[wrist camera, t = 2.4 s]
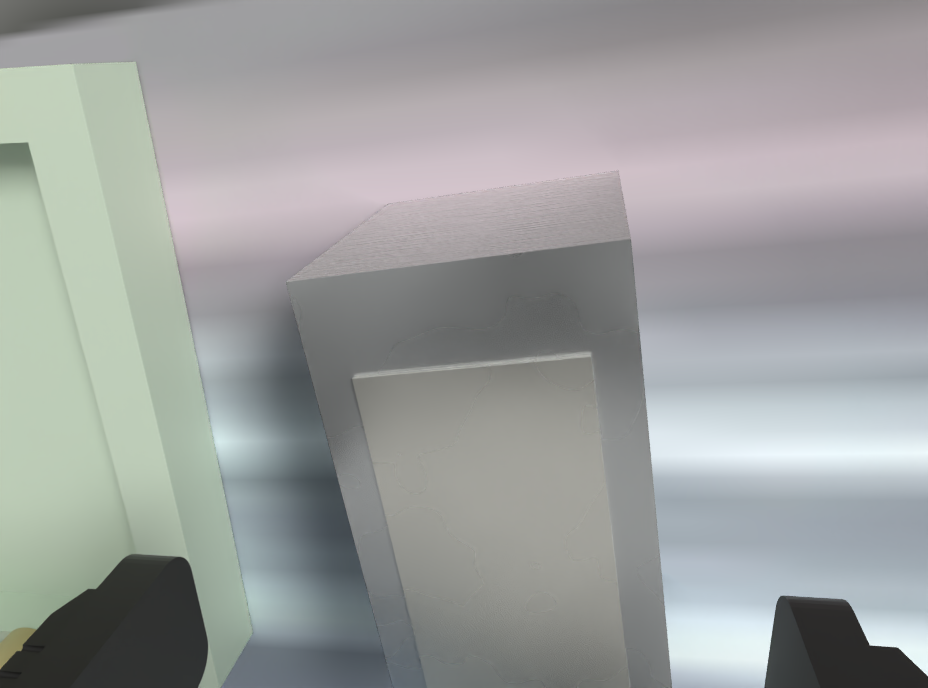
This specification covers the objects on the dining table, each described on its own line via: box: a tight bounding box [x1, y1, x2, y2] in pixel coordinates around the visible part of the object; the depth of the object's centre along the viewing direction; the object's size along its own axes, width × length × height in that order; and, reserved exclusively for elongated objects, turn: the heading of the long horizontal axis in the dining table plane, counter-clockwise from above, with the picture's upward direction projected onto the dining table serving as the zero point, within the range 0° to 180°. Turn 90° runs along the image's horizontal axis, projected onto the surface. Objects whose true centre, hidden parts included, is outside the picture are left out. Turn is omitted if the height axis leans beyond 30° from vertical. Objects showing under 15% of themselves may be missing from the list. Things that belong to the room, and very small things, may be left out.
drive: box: [286, 171, 672, 688], centre depth 15 cm, size 5×10×6 cm, turn 10°
